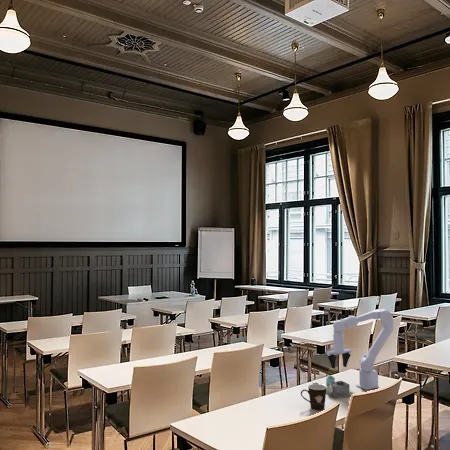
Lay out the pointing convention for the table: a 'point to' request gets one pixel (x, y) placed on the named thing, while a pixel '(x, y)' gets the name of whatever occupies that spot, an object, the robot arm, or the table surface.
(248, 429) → the table surface
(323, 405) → the coffee mug
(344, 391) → the motor
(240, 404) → the table surface
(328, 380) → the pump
